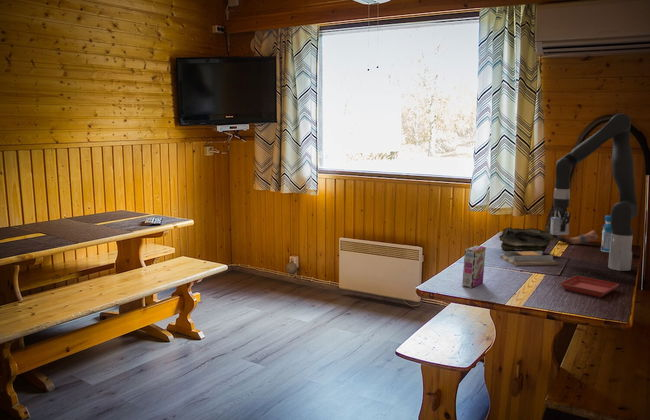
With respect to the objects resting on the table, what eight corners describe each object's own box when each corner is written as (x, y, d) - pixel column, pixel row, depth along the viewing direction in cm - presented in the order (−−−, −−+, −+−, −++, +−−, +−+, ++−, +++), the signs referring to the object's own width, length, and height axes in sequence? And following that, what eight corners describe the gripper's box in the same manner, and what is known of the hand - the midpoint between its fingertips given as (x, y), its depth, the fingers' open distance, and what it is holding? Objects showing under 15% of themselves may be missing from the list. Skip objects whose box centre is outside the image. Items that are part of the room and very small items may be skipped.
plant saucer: (558, 290, 237) (559, 282, 236) (575, 282, 249) (576, 274, 249) (603, 300, 224) (604, 292, 224) (619, 291, 237) (619, 283, 236)
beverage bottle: (608, 253, 305) (611, 217, 302) (596, 249, 313) (600, 214, 310) (620, 252, 307) (624, 217, 304) (609, 249, 315) (612, 214, 312)
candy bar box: (472, 288, 235) (475, 251, 233) (461, 286, 238) (464, 249, 236) (483, 283, 244) (486, 246, 241) (473, 281, 247) (475, 244, 244)
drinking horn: (598, 246, 323) (600, 229, 321) (545, 243, 328) (547, 226, 327) (596, 244, 328) (598, 227, 326) (544, 241, 334) (545, 225, 332)
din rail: (552, 260, 281) (553, 255, 280) (513, 261, 277) (514, 256, 277) (541, 255, 291) (541, 250, 291) (503, 256, 288) (504, 251, 287)
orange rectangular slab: (540, 255, 281) (540, 254, 281) (523, 256, 280) (523, 255, 280) (532, 252, 288) (532, 251, 288) (516, 252, 286) (516, 251, 286)
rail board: (556, 264, 278) (556, 261, 278) (515, 265, 275) (515, 262, 275) (539, 257, 294) (539, 254, 294) (500, 257, 290) (500, 255, 290)
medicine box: (565, 233, 286) (566, 217, 285) (568, 235, 282) (569, 218, 281) (549, 233, 287) (550, 216, 286) (552, 235, 282) (553, 218, 281)
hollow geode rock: (551, 263, 301) (555, 240, 308) (551, 250, 291) (555, 227, 298) (498, 255, 313) (502, 233, 320) (496, 243, 303) (501, 220, 311)
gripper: (576, 199, 275) (574, 233, 278) (560, 195, 289) (558, 228, 292) (563, 199, 274) (560, 233, 276) (546, 196, 288) (544, 228, 290)
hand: (559, 230), depth 284 cm, fingers closed on medicine box, 5 cm apart
